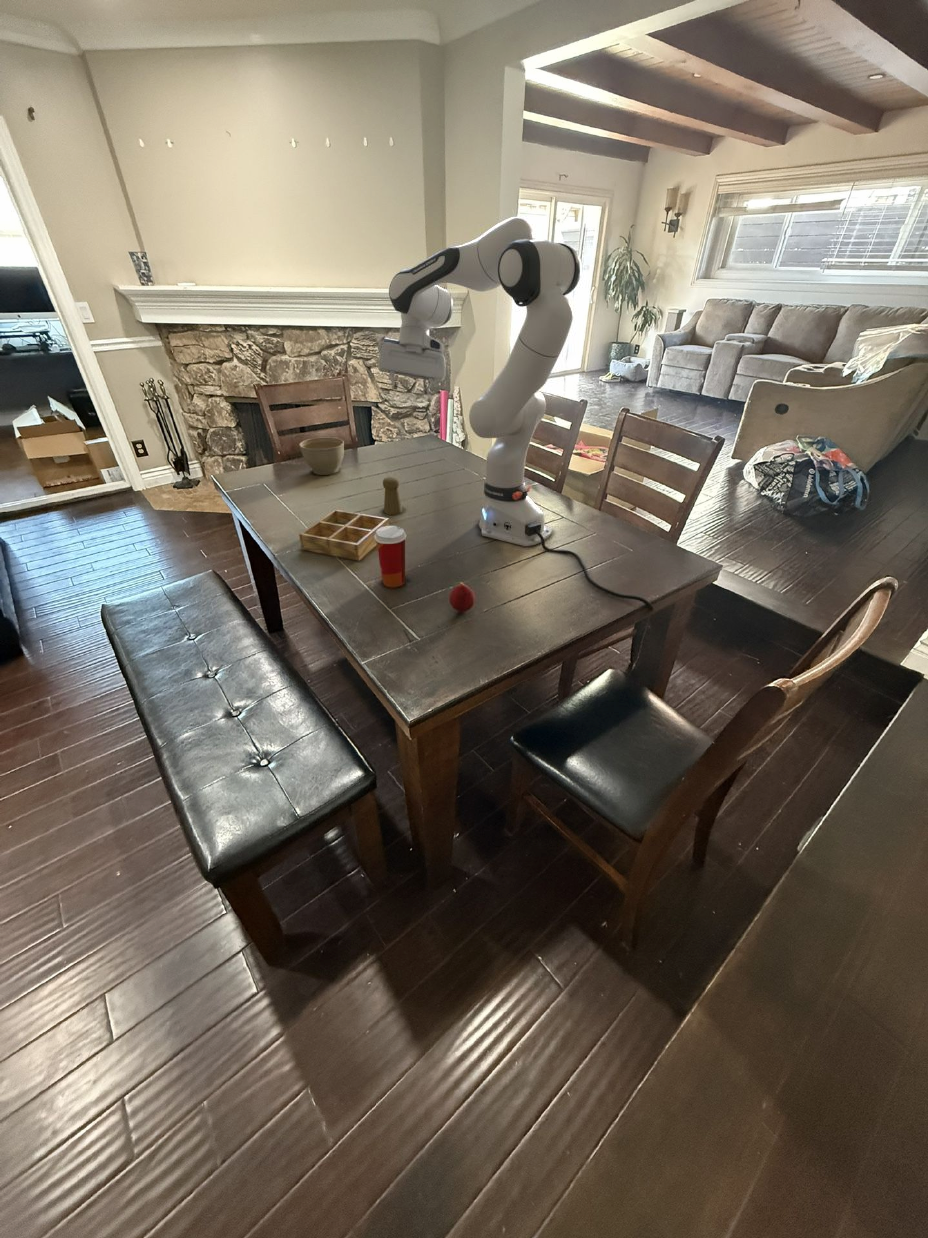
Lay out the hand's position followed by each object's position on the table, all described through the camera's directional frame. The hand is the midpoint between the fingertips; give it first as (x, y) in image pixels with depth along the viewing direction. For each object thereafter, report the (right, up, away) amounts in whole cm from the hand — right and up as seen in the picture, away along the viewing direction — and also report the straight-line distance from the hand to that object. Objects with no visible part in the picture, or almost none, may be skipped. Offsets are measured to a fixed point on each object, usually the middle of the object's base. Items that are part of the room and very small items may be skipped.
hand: (410, 391), depth 154 cm
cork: (-7, -33, +13) cm, 37 cm away
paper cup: (-2, -59, -23) cm, 64 cm away
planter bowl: (-37, -12, +44) cm, 58 cm away
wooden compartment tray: (-18, -46, -5) cm, 49 cm away
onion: (+16, -67, -34) cm, 77 cm away
